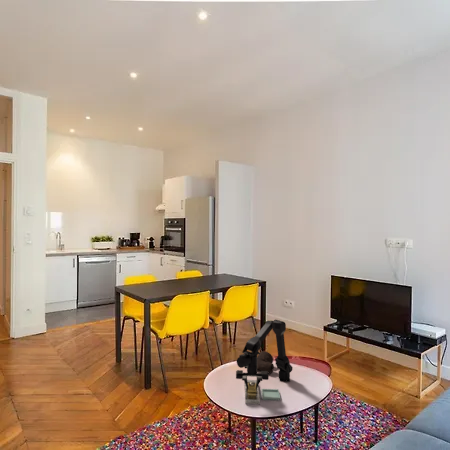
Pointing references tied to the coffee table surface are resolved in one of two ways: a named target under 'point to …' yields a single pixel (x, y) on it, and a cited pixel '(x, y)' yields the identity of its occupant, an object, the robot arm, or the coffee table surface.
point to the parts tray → (270, 394)
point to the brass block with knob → (251, 387)
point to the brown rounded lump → (265, 362)
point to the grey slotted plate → (251, 395)
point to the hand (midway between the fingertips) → (251, 389)
